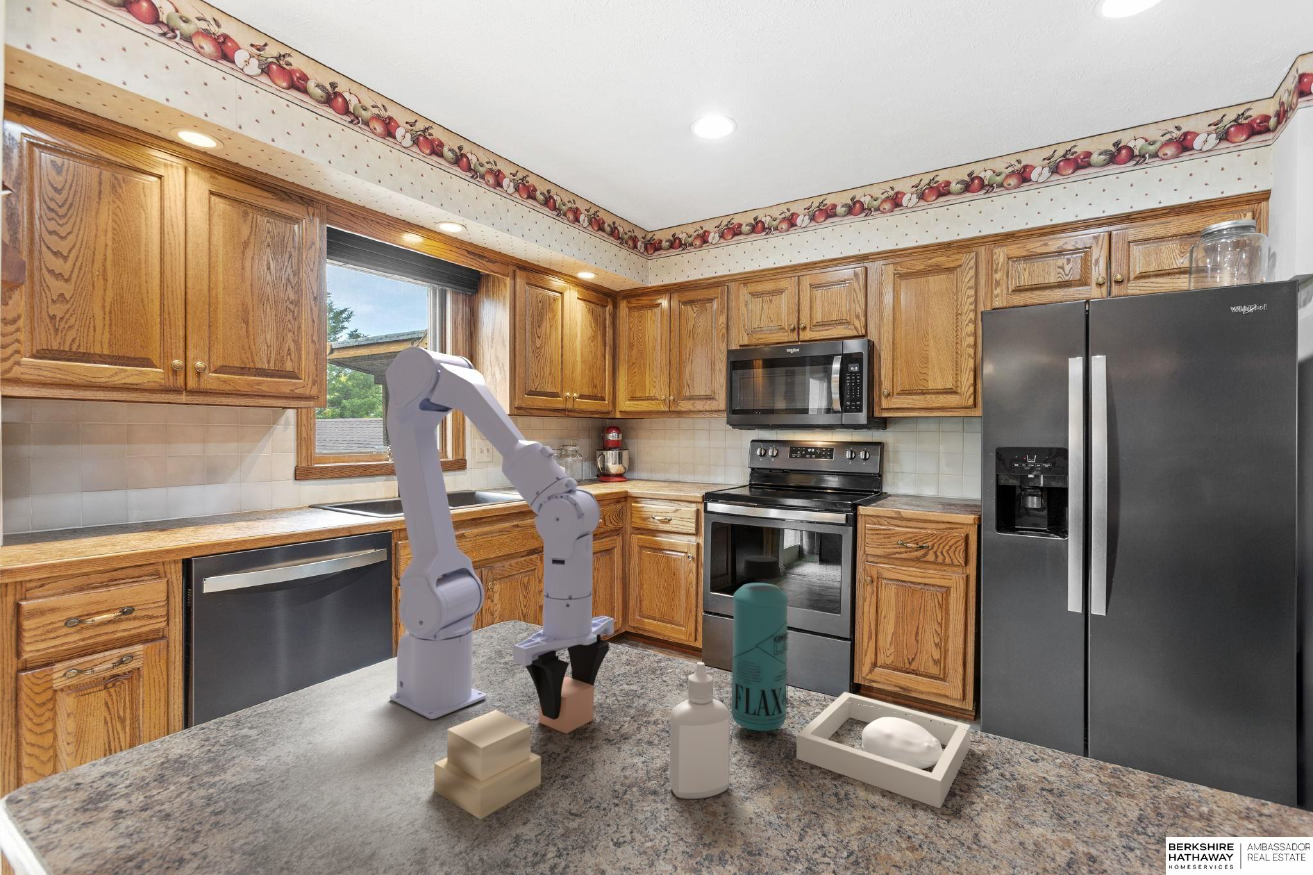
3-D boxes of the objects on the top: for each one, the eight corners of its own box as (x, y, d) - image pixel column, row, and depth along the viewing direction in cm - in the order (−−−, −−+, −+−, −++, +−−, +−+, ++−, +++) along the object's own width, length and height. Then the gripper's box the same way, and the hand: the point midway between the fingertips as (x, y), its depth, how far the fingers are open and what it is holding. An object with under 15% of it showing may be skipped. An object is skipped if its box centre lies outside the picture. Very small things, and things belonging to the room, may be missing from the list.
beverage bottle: (723, 738, 68) (725, 559, 68) (738, 713, 75) (740, 549, 75) (781, 750, 66) (784, 564, 66) (792, 723, 72) (794, 554, 72)
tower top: (447, 760, 58) (447, 729, 58) (495, 739, 62) (495, 709, 62) (481, 781, 55) (481, 747, 55) (530, 757, 59) (530, 725, 59)
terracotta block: (538, 722, 72) (539, 688, 72) (566, 708, 75) (566, 676, 75) (566, 733, 69) (566, 698, 69) (593, 719, 73) (593, 685, 73)
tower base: (433, 795, 58) (434, 763, 58) (494, 764, 63) (494, 735, 63) (480, 823, 53) (480, 789, 53) (540, 788, 59) (541, 756, 59)
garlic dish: (796, 758, 64) (796, 734, 64) (844, 712, 75) (844, 691, 75) (940, 808, 56) (940, 781, 56) (970, 747, 67) (970, 725, 67)
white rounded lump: (956, 766, 64) (956, 729, 64) (924, 789, 59) (924, 750, 59) (884, 736, 70) (885, 703, 70) (851, 755, 65) (851, 720, 65)
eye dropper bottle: (726, 806, 56) (728, 674, 56) (666, 798, 57) (667, 669, 57) (730, 780, 60) (732, 657, 60) (674, 773, 61) (675, 653, 61)
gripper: (545, 613, 64) (543, 743, 64) (633, 587, 76) (631, 697, 76) (501, 601, 68) (500, 723, 68) (591, 578, 80) (589, 682, 80)
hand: (566, 708), depth 72 cm, fingers closed on terracotta block, 4 cm apart
